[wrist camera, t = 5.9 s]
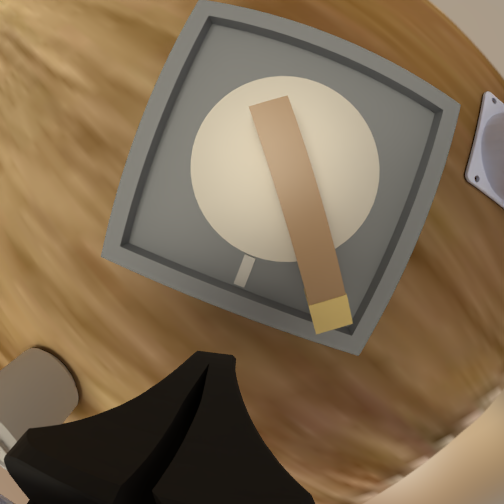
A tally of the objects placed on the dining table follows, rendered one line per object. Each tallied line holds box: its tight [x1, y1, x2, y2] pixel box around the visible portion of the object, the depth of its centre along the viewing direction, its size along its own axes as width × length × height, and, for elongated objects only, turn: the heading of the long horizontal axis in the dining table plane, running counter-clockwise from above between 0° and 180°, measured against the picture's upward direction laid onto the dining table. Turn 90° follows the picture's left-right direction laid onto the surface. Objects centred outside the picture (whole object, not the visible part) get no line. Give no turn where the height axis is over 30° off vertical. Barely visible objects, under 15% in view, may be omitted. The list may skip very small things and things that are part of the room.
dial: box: [191, 76, 380, 334], centre depth 15 cm, size 10×13×4 cm
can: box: [0, 348, 79, 471], centre depth 18 cm, size 8×8×12 cm
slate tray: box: [101, 0, 461, 356], centre depth 17 cm, size 18×18×2 cm
